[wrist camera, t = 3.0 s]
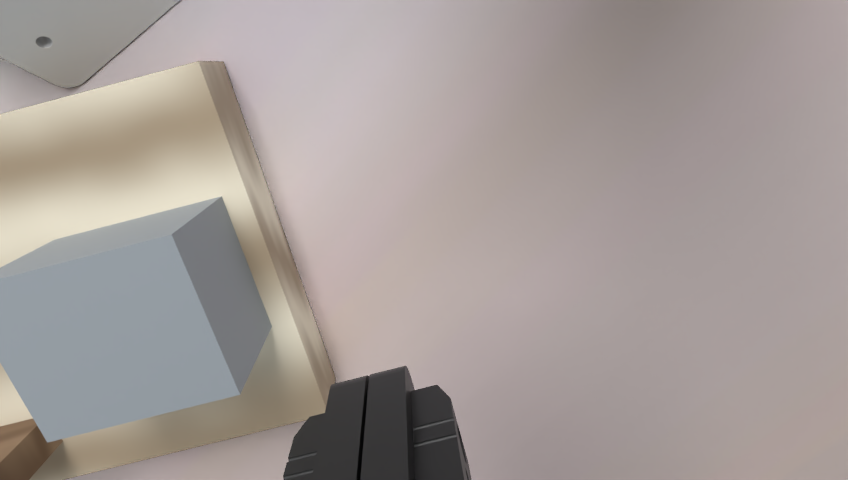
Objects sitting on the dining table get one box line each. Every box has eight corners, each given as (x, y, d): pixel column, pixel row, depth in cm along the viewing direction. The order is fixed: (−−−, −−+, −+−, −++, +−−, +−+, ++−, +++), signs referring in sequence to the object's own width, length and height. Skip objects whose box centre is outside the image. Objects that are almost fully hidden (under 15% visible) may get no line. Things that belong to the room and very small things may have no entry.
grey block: (54, 239, 21) (-43, 289, 16) (221, 196, 21) (171, 234, 16) (118, 365, 23) (47, 442, 18) (271, 326, 23) (240, 394, 18)
